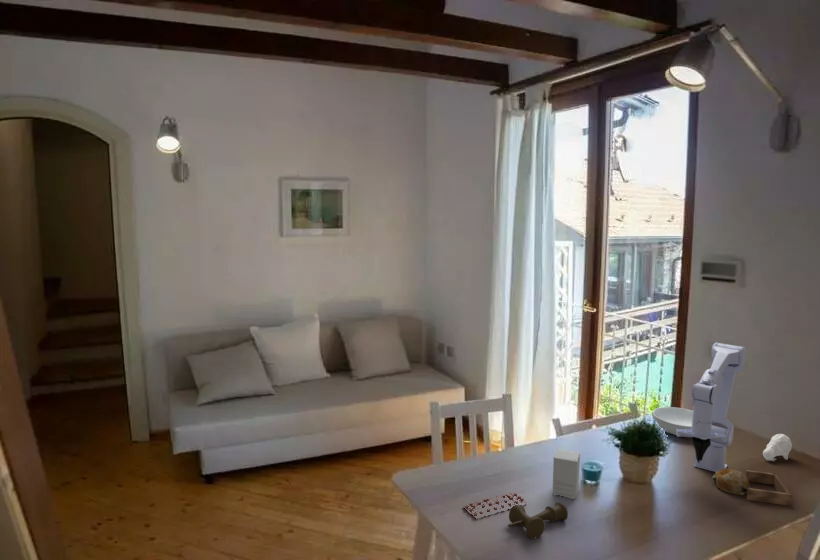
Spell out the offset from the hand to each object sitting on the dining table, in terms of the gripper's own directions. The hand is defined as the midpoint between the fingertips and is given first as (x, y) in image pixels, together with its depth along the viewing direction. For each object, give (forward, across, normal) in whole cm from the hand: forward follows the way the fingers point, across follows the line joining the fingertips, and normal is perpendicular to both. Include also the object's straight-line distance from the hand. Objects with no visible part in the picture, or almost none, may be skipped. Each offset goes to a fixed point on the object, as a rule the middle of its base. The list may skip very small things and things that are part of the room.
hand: (698, 459), depth 184 cm
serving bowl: (+8, +2, +45) cm, 46 cm away
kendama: (+9, -50, -42) cm, 66 cm away
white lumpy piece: (+8, +31, +29) cm, 44 cm away
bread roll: (+9, +10, 0) cm, 13 cm away
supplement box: (+8, -42, -20) cm, 47 cm away
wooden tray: (+8, +19, 0) cm, 21 cm away
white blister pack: (+9, -62, -35) cm, 72 cm away
